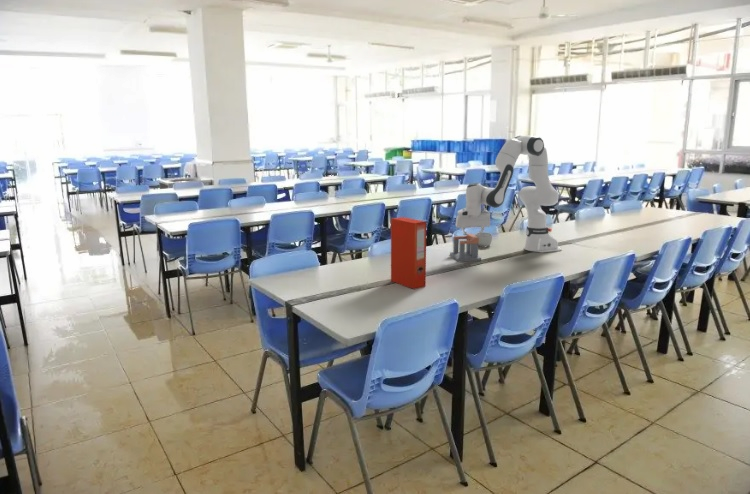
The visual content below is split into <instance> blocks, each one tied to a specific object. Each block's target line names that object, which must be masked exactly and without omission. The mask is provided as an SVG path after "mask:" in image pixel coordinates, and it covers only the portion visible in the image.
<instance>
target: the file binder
mask: <svg viewBox="0 0 750 494" xmlns="http://www.w3.org/2000/svg"><path fill="white" fill-rule="evenodd" d="M426 270H427V221H425V220H420V219H415V218H410V217H405V216H400V217H393V218H390V282H393V283H396V284H397V285H401V286H404V287H407V288H410V289H412V290H416V289H421V288H424V287H426V281H427V280H426V279H427V278H426V274H427V273H426V272H427V271H426Z"/></svg>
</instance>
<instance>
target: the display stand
mask: <svg viewBox="0 0 750 494" xmlns="http://www.w3.org/2000/svg"><path fill="white" fill-rule="evenodd" d="M466 241H471V239H470V240H468V239H466ZM465 245H466V247H465ZM465 249H466V250H465ZM449 256H451V257H452V258H453V259H454V258H455V259H456V260H457V261H456V260H455V259H454V260H455V261H456V262H458V261H461V262H476V261H479V262H480V261H482V257H481V256H479V246H478V243H471V244H460V239H453V249H452V252H451V251H450V252H449Z"/></svg>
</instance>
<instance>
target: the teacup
mask: <svg viewBox="0 0 750 494" xmlns="http://www.w3.org/2000/svg"><path fill="white" fill-rule="evenodd" d="M474 235H475V236H476V237H478V238H479V243H478V247H481V246H487V247H489V246H490V245H491V244H492V241H493V239H492V238H493V234H492V233H491V232H486V231H483V232H482V234H481V235H480V234H479V231H478V232H475V234H474Z"/></svg>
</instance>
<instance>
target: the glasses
mask: <svg viewBox="0 0 750 494" xmlns="http://www.w3.org/2000/svg"><path fill="white" fill-rule="evenodd" d="M454 239H459V245H460V244H465V245H466V244H471V243H479V238H478V237H476V236H475V234H473V233H472V232H470V233H469V232H468V233H467V235H461V236H457V235H456V236H453V240H454ZM467 239H468V240H470V239H471V241H467Z"/></svg>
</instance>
